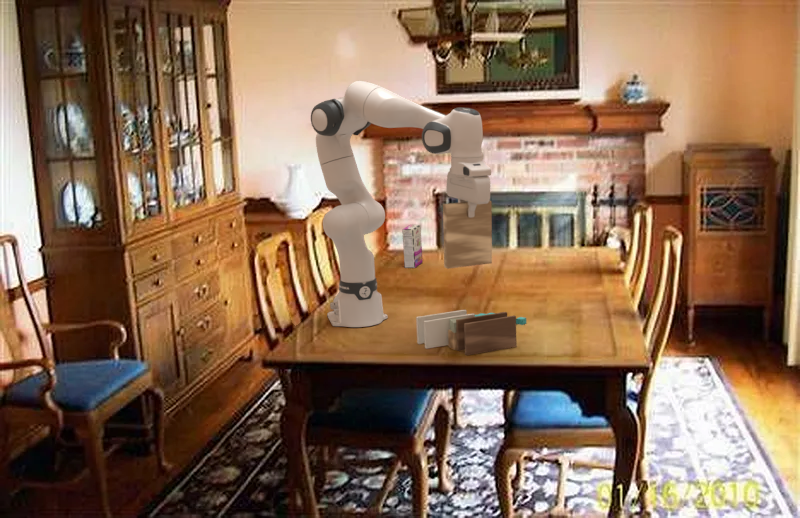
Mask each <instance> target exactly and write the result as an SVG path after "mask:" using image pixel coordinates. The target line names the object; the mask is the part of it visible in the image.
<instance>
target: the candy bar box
mask: <svg viewBox="0 0 800 518" xmlns="http://www.w3.org/2000/svg"><path fill="white" fill-rule="evenodd" d="M401 231H402V232H401V233H402V244H403V246H402V247H403V261H404V262H403V263H404V268H405V269H416V268H417V267H419V266H420V265H421V264H422V263H423V249H422V247H423V245H422V226H421V224H410V225H408V226H406V227H404V228H402V230H401Z"/></svg>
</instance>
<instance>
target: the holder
mask: <svg viewBox="0 0 800 518" xmlns="http://www.w3.org/2000/svg"><path fill="white" fill-rule="evenodd" d="M475 315H476V314H475V313H467V310H466V309H460V310H459V309H458V310H453V311H447V312H440V313H434V314H427V315H422V316H421V315H419V316H416V317H415V320H416V340H417V341H416V344H418V345H423V344H424V348H425V349H426V350H427V349H433V348H437V347H445V346H449V343H448V330H450V319H457V318H469V317H475Z"/></svg>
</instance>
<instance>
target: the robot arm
mask: <svg viewBox="0 0 800 518" xmlns="http://www.w3.org/2000/svg"><path fill="white" fill-rule="evenodd" d="M310 122H311V126H312V128H313V130H314V132H316V133H317V134H316V136H315V145H316V146H315V147H316V153H317V157H318V161H319V166H320V169H321V172H322V175H323V179H324V182H325V185H326V188H327V190H328V191H329V192H330V193H332V194H333V195H335V196H336V198H337V200H338V201H339V202H340V204H339V205H337V206H334V207H333V208H332V209H330V210H329V211H327V212H326V213H325V215H324V216H323V219H322V227H323V231H324V233H325V235H326V236H327V237H328V238H329V239H331V240H332V242H333V244H334V246H335V249H336V252H337V255H338V260H339V270H340V271H339V272H340V279H339V284H338V290H339V291H338V292H337V294H336V296H335V297H334V298H333V301H332V302H330V303H329V306H330V310H332V311H329V312H327V313H326V314H327V316H326V317H327V318H328V320H329V321H330V324H331V325H332V327H348V328H362V327H371V326H375V325H379V324H381V323H383V321H384V320H387V319H388V314H386V313H384V307H383V305H384V304H383V298H382V294H381V292H378V281H377V277H376V267H375V254H374V253H373V252H372V251H371V250H369V248H368V246H367V244H366V240H365V236H366V235H368V234H371V233H374V232H375V231H377V230H378V229H379V228H381V227H382V226H383V224H384V222H385V221H386V220H385V219H386V212H385V209H384V207H383V206H382V204H381V203H380V202H378V201H377V200H376V199H374V197H373V196H372V194H371V193H370V192H369V190H368V189H367V187H366V186H365V184H364V182H363V179H362V177H361V174H360V171H359V167H358V165H357V162H356V159H355V156H354V152H353V148H352V146H351V138H352V136H353V135H354V136H358V135H360V134H361V133H362V132H363V131H365V130H366V129H367V128H369V127H370V126H371V125H374V126H378V127H382V128H388V129H393V128H395V129H396V128H418V129H422V132H421V142H422V145H423V147H424V148H425V150H426V151H427V152H428V153H430V154H435V155H442V154H443V155H445V154H450V167H449V171H448V172H447V174H446V189H445V190H446V195H447V196H448V197H450V198H454V199H457V203H460V202H468V205H469V207H468V211H467V217H474V216H475V209H476V206H477V204H487V203H488V202H489V201H491V178H490V177H489V176H492V167H490V166H489V165H488V164H487V163H486V162H485V160H484V154H483V151H482V145H483V143H484V142H483V140H484V135H483V132H484V131H483V129H484V128H483V119H482V117H481V114H480V112H479V111H478V110H476V109H474V108H471V107H456V108H455V107H454V109H452V110H451V112H450V113H447V114H445V113H442V112H439V111H437V110H434V109H432V108H429V107H426V106H425V105H421V104H419V103H417V102H414V101H413V100H411V99H408V98H406V97H404V96H401V95H400V94H398V93H396V92H394V91H392V90H389V89H388V88H385V87H384V86H381V85H379V84H376V83H372V82H368V81H364V80H356V81H353V82H351V83H350V85H348V87H346V89H345V92H344V96H343V97H338V98H332V99H326V100H323V101H321V102H320V103H318V104H316V105H314V107H313V108H312V110H311V112H310Z"/></svg>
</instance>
